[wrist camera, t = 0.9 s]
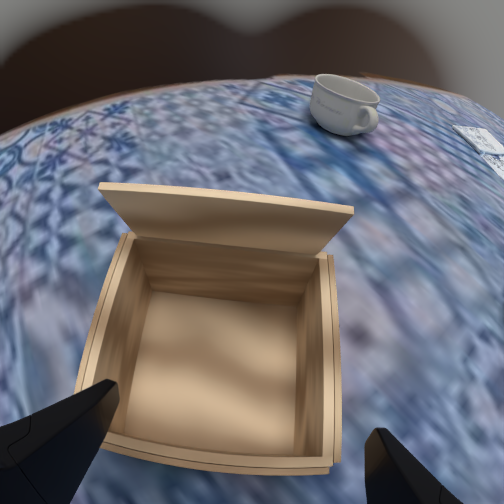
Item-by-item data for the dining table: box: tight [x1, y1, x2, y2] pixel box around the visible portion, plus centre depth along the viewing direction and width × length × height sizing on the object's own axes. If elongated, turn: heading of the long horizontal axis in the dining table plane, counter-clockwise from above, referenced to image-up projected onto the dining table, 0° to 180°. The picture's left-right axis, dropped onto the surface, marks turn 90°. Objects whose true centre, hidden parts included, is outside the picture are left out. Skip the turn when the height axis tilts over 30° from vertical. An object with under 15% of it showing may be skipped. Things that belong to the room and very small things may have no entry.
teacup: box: [310, 74, 380, 136], centre depth 44 cm, size 14×11×8 cm
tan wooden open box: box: [74, 231, 342, 475], centre depth 20 cm, size 14×15×8 cm
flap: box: [98, 182, 354, 255], centre depth 17 cm, size 7×12×1 cm
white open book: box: [452, 125, 504, 181], centre depth 54 cm, size 19×20×2 cm
